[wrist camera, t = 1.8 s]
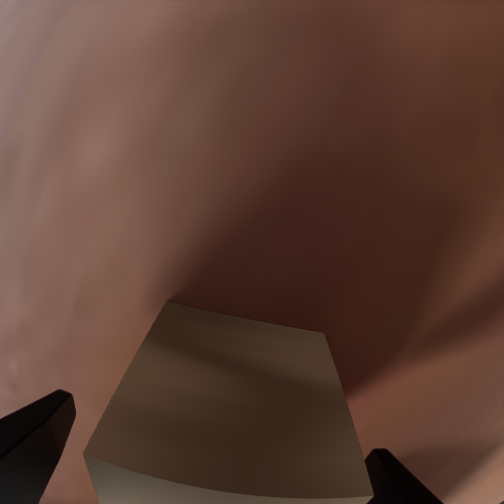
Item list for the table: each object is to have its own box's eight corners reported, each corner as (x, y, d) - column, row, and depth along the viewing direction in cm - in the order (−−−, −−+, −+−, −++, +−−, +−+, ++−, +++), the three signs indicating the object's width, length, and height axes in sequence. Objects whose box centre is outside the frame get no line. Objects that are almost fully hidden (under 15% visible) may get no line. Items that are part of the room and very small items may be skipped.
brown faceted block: (157, 408, 11) (114, 537, 5) (166, 300, 9) (82, 453, 4) (282, 432, 11) (289, 564, 5) (323, 332, 10) (374, 495, 4)
